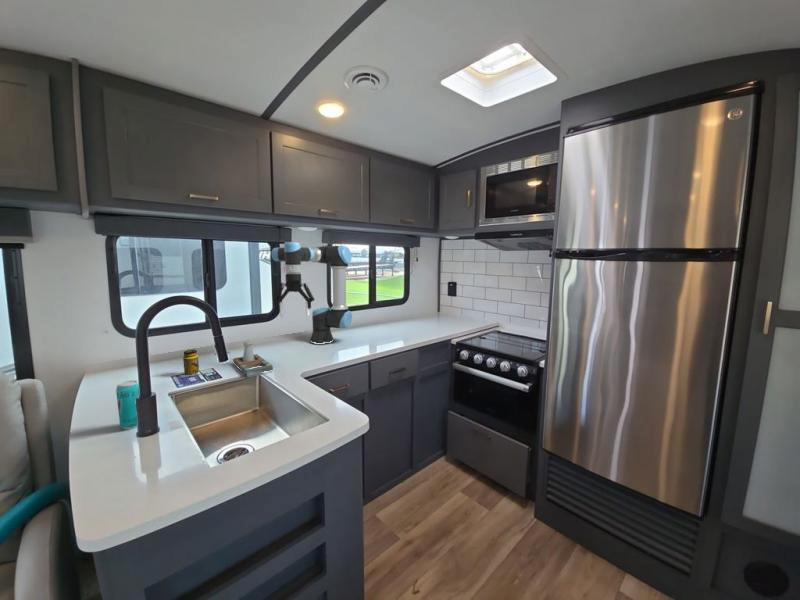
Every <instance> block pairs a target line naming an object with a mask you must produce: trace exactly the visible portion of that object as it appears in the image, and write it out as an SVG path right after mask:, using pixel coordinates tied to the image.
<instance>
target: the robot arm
mask: <svg viewBox="0 0 800 600" xmlns="http://www.w3.org/2000/svg"><path fill="white" fill-rule="evenodd" d="M270 253H271V258H272V260H273V261H275V262H279V263H280V262H284V270H285V271H284V272H285V282H279V287H278V289H277V292H276V294H275V297H274V299H273V301H274V302H277V305H278V306H277V307H278V308H277V309H279V316H283V315H284V314H285V312H284V311H285V308H284V307H285V306H284V299H285V298H286V296H287V295H288V294H289V293H293V292H295V293H297V292H298V293H299V294H300V295H301V297H303V299H304V300H305V301H306V302H305V315H306V316H309V315H310V309H311V308H312V302H314V301H315V300H316V299H315V298H314V295H313V294H312V292H311V290H310V288H309V284H308V282H304V283H302V274H301V273H302V267H301V266H302V265H301V263H302V262H307V263H309V262H311V263H318V264H327V265H329V267H330V268H331V270H332V271H331V273H332V276H331V277H332V278H331V279H332V306H331V308H330V307H321V308H316V309H313V310H312V313H311V314H312V315H311V316H312V333H311V337H310V342H311V341H312V342H316V343H323V342H330V341H332V340H333V341H334V337H333V334H332V331H331V329H341V330H342V329H348V328H349V327H350V325H351V323H352V320H353V313H352V311H350V309H349V307H348V305H347V277H346V276H347V272H346V270H347V269H348V267H349V265H350V264H351V262H352V253H351V251H350V249H349V248H348V246H346V245H325V246H324V245H323V246H316V247H313V246H312V247H306V246H304V247H303V246H301V243H300V242H295V241H294V242H291V241H290V242H289V241H288V242H285V243H284V247H280V246H279V247H274V248H273V249H272V250H271V252H270ZM302 287H303V288H304V289H302ZM284 288H286V289H285V290H284ZM283 291H284V292H283ZM304 291H305V292H306V293H305V292H304Z"/></svg>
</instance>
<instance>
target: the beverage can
mask: <svg viewBox="0 0 800 600" xmlns="http://www.w3.org/2000/svg"><path fill="white" fill-rule="evenodd" d="M139 391H140V385H139V383H138V381H137V380H126V381H122V382H120V383H117V385H116V390H115V392H116V393H115V394H116V400H117V402H116V403H117V409H118V419H119V424H120V427H121V428H122V429H123V430H132V429H135V428H138V427H137V414H136V407H135V398H136V397H137V396H138V395H139Z"/></svg>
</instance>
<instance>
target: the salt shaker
mask: <svg viewBox="0 0 800 600" xmlns="http://www.w3.org/2000/svg"><path fill="white" fill-rule="evenodd" d="M242 343H243V346H244V349H243V356H242V357H243V362H248V361H253V360H255V359H254V355H255V354H254V351H253V348H252V345H253V341H252V340H250V339H248V340H247V339H246V340H244V341H243V342H242Z"/></svg>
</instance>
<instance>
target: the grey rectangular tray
mask: <svg viewBox="0 0 800 600" xmlns="http://www.w3.org/2000/svg"><path fill="white" fill-rule="evenodd" d="M253 355H254V359H255V360H253V361H248V362H243V356H239V357H234V358H232V360H233V361H232V362H234V363H235V364H236V365H237V366H238V367H239V368H240V369H241V370H242V371H243V372H244V373H245V374H246V376H245V377H246V378H250V377H251V378H252V377H256V376H259V373H260V372H264V371H270V370H273V371H274V366H273V365H272V364H271V363H269V362H268V361H266V359H264V358H263V357H261V356H260V355H259V354H256V353H255V354H253ZM234 363H233V364H234ZM257 366H262V367H257ZM252 367H257V368H253V369H249V368H252Z"/></svg>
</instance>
